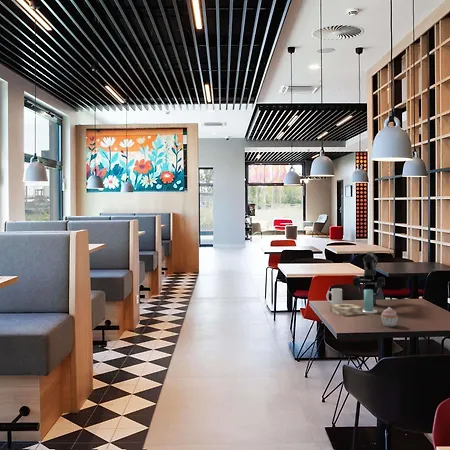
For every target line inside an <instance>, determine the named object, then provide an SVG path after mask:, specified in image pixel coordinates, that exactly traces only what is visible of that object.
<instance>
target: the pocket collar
mask: <svg viewBox="0 0 450 450" xmlns="http://www.w3.org/2000/svg"><path fill="white" fill-rule="evenodd" d="M363 309H364V306H360V305H356V304H353V303H342V304H337V305H332V304H330V305H329V312H330V313H333V314H336V315H339V316H341V317H344V316H353V315H354V316H355V315H363V314H364V313H363Z"/></svg>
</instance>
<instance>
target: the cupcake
mask: <svg viewBox="0 0 450 450" xmlns="http://www.w3.org/2000/svg"><path fill="white" fill-rule="evenodd" d="M380 319H381V321H382V324H383V326H384V327H389V328H394V327H396V326H397V322H398V320H399V316H398V315H397V312H396V311H395V310H393V308H391V307H390V306H388V307H387V308H386V309H384V310H383V312H382V313H381V315H380Z"/></svg>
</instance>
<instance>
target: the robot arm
mask: <svg viewBox="0 0 450 450" xmlns="http://www.w3.org/2000/svg"><path fill="white" fill-rule="evenodd" d="M362 263H363V265H364V273H363V278H360V277H358V276H356V277H355V276H354V277H352V282H353V286H355V287H357V288H358V291H359V293H360V294H361V293H362V291H363V293H364V290H365V289H371V290H373V306H378V303H377V296H379V291H380V289H381V288H384V287H385V284H386V282H385V281H386V280H385V277H378V278H377V279H375V275H376V274H377V269H376V268H377V265H378V256H377V255H375V252H373V251H367V252H366V255H364V257H362ZM361 284H364V285H363V287H362V285H361ZM362 289H363V290H362Z"/></svg>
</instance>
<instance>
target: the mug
mask: <svg viewBox="0 0 450 450" xmlns="http://www.w3.org/2000/svg"><path fill="white" fill-rule="evenodd" d="M329 294H330V295H331V300H330V299H329ZM326 302H327V303H328V304H330V305H337V304H343V289H342V288H336V287H335V288H331V291H330V290H327V293H326Z"/></svg>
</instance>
